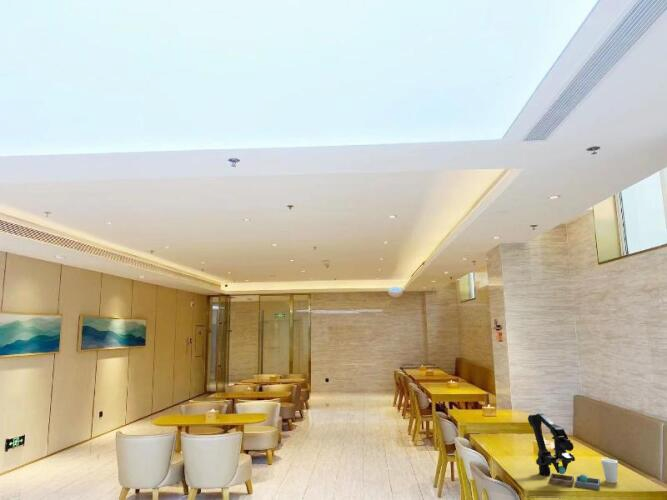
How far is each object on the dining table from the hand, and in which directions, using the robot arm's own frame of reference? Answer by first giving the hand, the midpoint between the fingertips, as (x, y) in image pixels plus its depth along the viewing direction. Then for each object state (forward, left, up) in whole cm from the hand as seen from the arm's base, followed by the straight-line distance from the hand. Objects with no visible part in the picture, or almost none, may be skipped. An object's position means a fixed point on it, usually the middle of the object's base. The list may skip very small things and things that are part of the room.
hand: (561, 472), depth 305 cm
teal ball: (0, 0, +2) cm, 2 cm away
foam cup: (+28, +19, -6) cm, 34 cm away
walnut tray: (0, 0, -6) cm, 6 cm away
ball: (+12, +5, -3) cm, 14 cm away
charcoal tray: (+15, +2, -6) cm, 16 cm away
